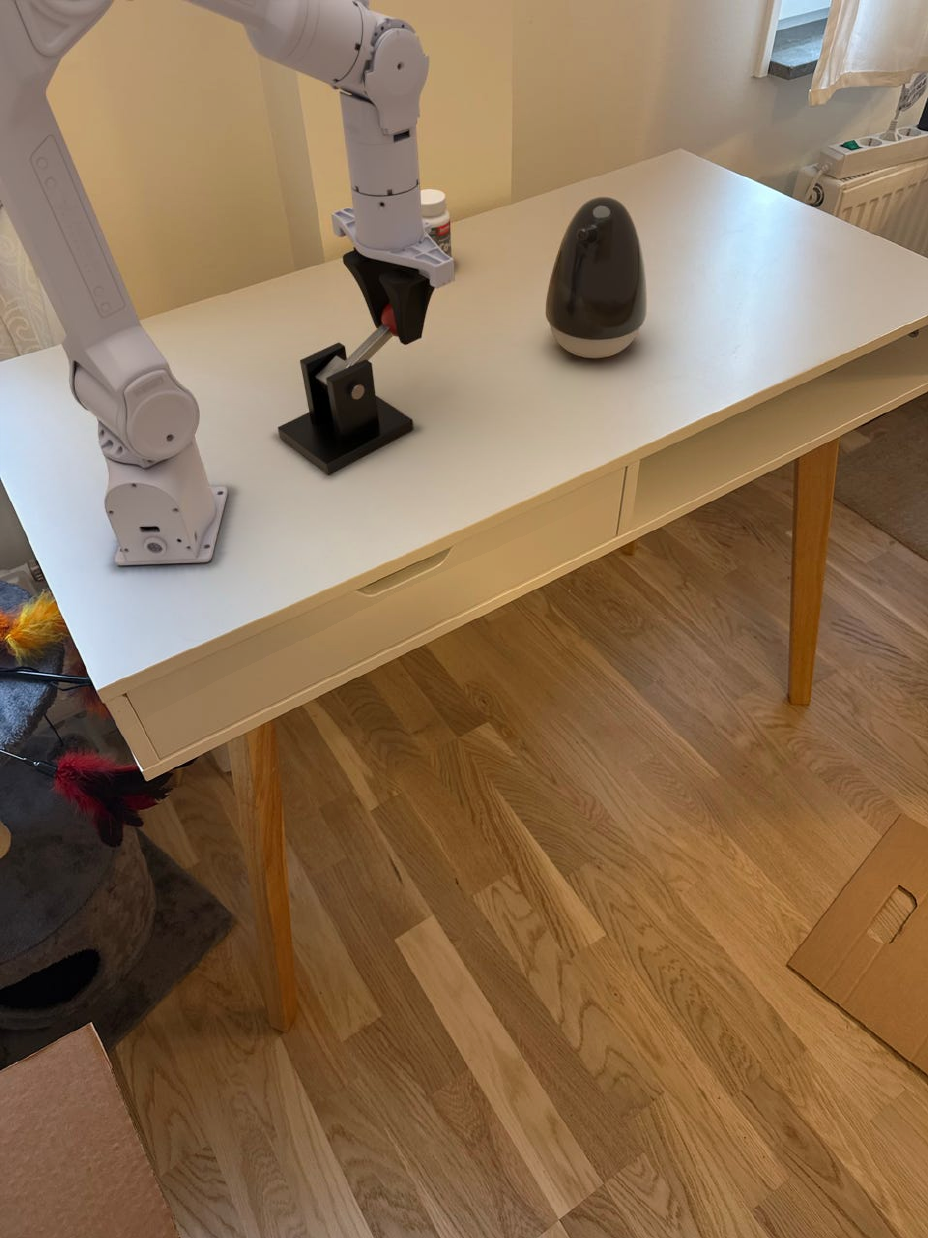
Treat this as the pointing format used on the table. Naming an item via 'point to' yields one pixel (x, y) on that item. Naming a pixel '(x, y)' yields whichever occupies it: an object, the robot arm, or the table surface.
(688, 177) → the table surface
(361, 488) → the table surface
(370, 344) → the lever
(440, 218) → the pill bottle
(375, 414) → the bracket
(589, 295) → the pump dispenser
